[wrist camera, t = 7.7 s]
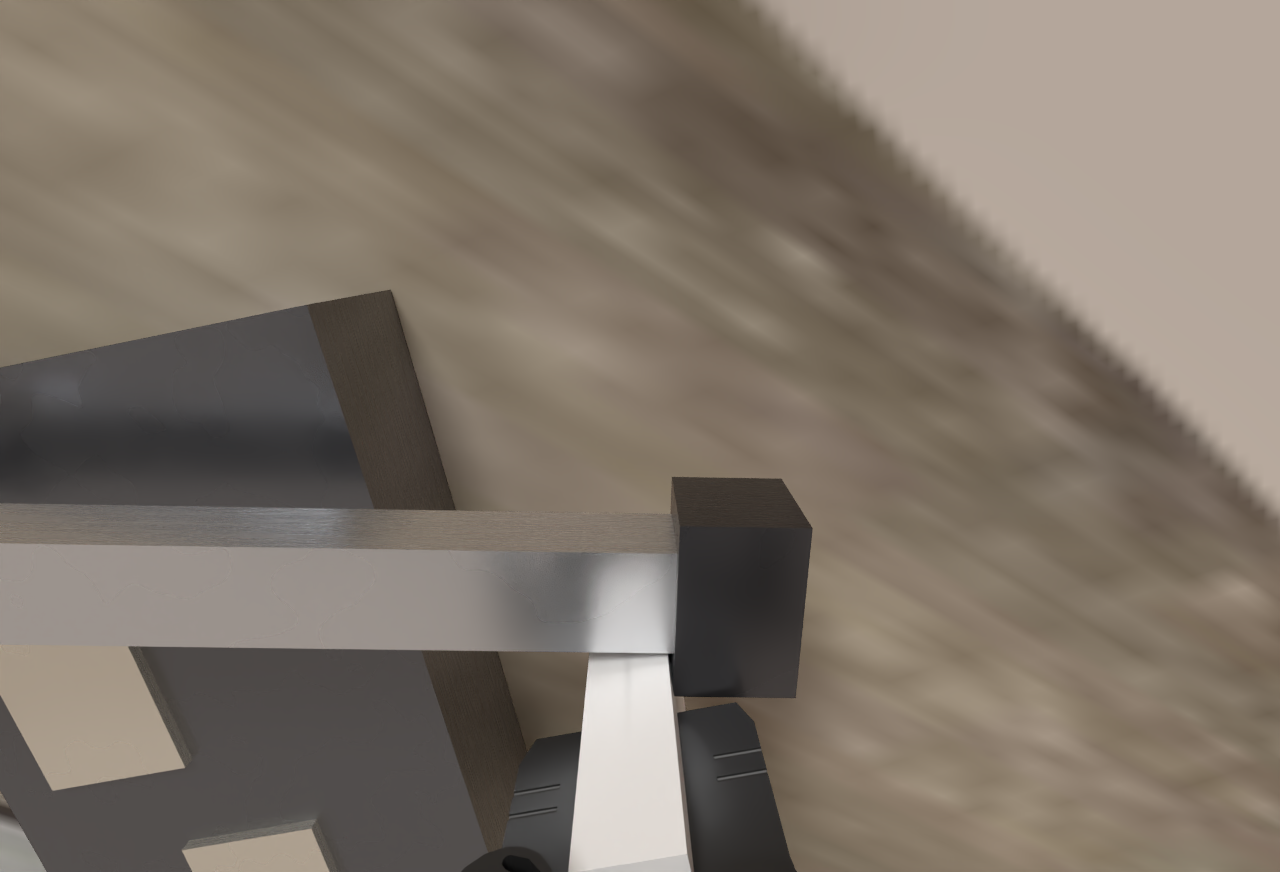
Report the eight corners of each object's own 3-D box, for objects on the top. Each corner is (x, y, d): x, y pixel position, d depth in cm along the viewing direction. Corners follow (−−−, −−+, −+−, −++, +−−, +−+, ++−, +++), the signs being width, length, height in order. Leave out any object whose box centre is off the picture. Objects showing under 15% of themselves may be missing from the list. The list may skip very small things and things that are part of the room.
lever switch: (-6, 370, 19) (-419, 451, 12) (390, 289, 19) (224, 319, 11) (261, 935, 25) (103, 1228, 18) (566, 886, 25) (536, 1167, 17)
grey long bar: (-329, 608, 13) (-522, 681, 11) (-392, 458, 12) (-617, 505, 10) (768, 623, 13) (795, 697, 11) (781, 478, 12) (812, 528, 10)
